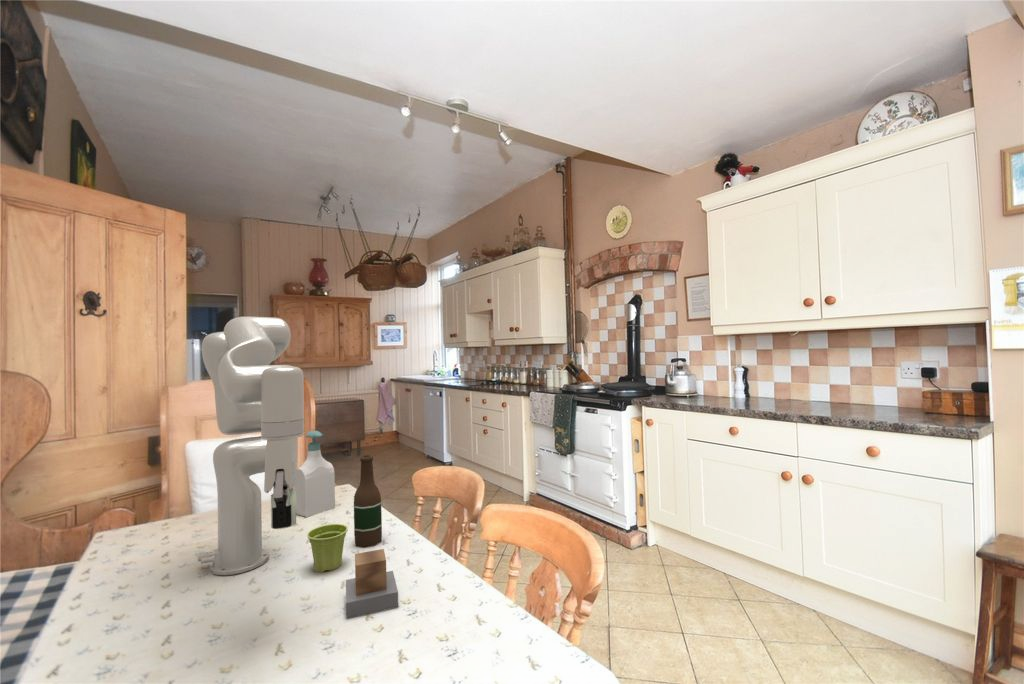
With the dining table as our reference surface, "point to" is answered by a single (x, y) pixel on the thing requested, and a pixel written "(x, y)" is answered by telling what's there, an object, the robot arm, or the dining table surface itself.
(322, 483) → the soap bottle
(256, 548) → the robot arm
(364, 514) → the beer bottle
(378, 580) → the cube
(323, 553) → the plant pot
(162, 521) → the dining table surface
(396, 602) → the plinth
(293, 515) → the tin
